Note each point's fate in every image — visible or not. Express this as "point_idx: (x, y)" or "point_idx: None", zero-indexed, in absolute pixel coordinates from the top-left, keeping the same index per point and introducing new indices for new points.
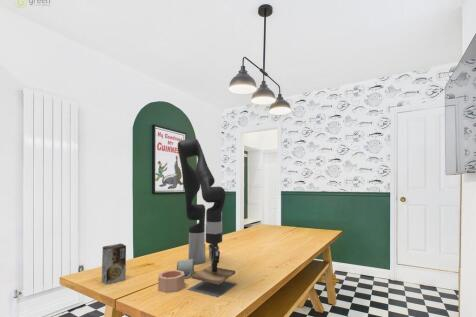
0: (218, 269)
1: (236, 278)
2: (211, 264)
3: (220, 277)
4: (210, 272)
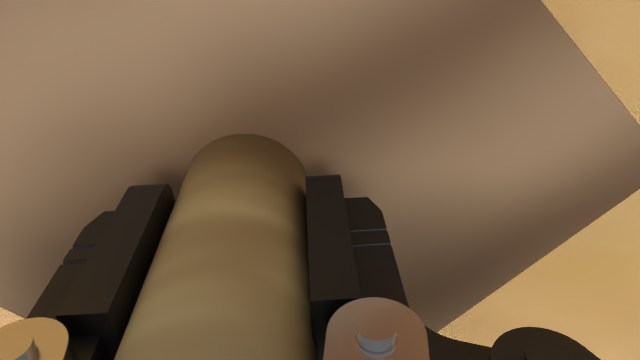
0: (410, 276)
1: (449, 334)
2: (169, 267)
3: (16, 259)
4: (297, 134)
